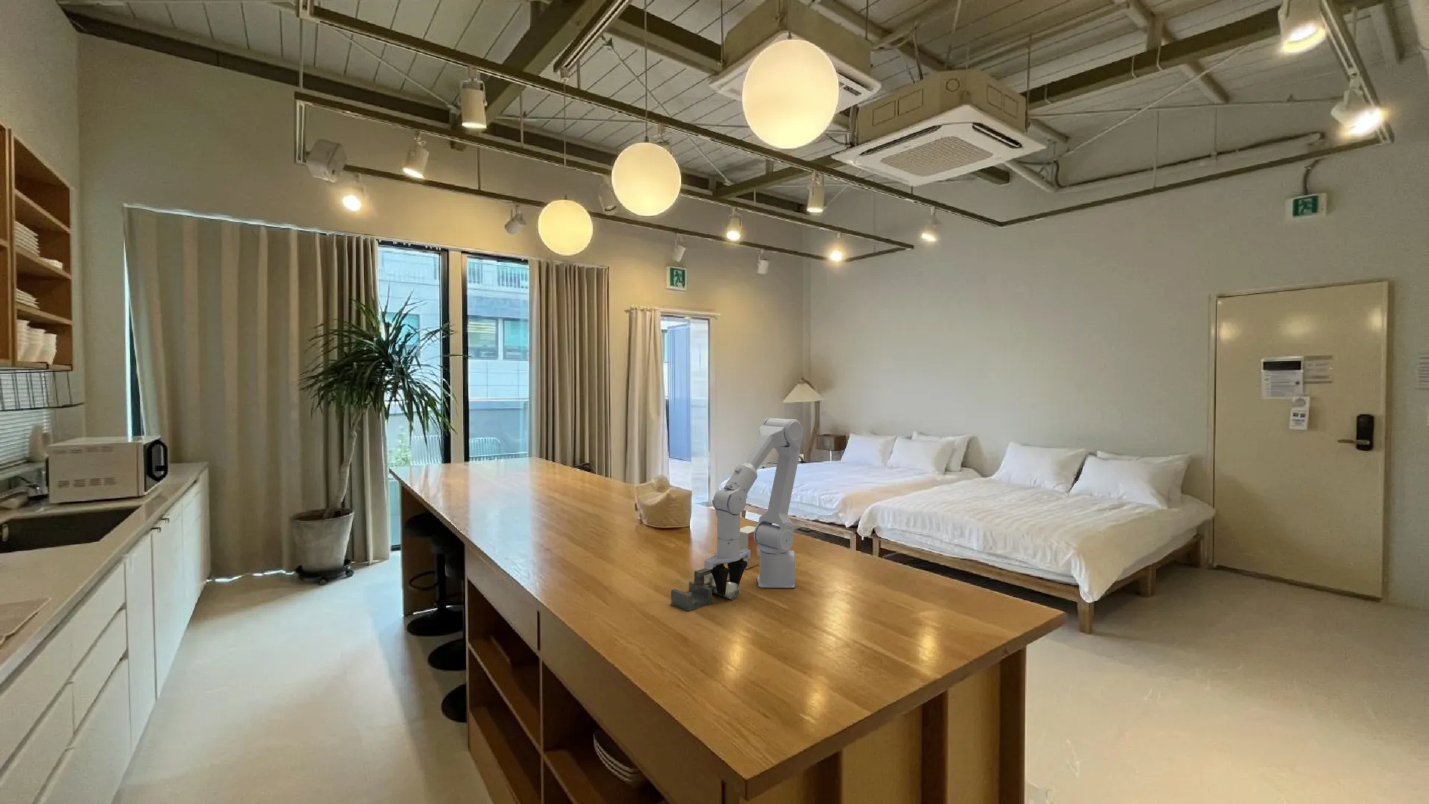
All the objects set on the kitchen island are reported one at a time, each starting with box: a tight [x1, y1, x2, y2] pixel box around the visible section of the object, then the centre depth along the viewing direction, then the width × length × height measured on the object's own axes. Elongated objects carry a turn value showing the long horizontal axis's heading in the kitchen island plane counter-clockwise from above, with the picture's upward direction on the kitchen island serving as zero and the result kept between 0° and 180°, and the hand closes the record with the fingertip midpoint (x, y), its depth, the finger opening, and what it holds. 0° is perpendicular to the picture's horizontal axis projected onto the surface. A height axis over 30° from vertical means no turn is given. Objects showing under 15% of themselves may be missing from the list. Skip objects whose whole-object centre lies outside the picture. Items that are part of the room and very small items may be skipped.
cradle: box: [670, 583, 713, 612], centre depth 143 cm, size 6×8×4 cm
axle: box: [704, 574, 741, 601], centre depth 150 cm, size 12×4×4 cm, turn 45°
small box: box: [740, 525, 760, 570], centre depth 174 cm, size 8×6×10 cm
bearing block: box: [688, 568, 730, 592], centre depth 154 cm, size 6×12×6 cm, turn 135°
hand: (727, 591), depth 148 cm, fingers closed on axle, 4 cm apart
